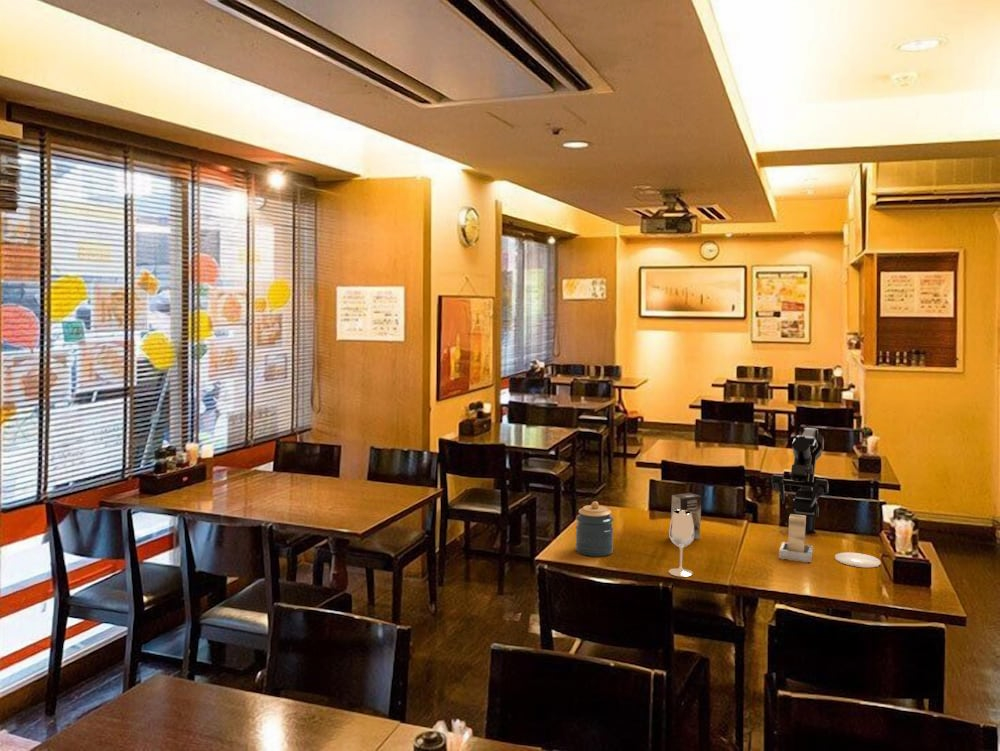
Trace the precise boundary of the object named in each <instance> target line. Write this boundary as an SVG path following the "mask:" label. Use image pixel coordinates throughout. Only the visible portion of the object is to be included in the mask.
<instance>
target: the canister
mask: <svg viewBox="0 0 1000 751" xmlns="http://www.w3.org/2000/svg"><path fill="white" fill-rule="evenodd" d="M578 513H579V514H578V515H576V517H575V520H576V522H577V524H576V525H575V530H576V531H575V532H576V533H575V551H576V552H577V553H578V554H580V555H582V554H583V555H582V556H586V555H589V556H588V557H606V556H609V555H610V554H612V553H613V550H614V544H613V543H614V529H615V528H614V526H613V522H614V520H615V519H614V517H613V516H612V511H611V510H610V509H608V507H606V506H603V505H600V504H599V502H598V501H592V502H591V504H590V505H589V504H588V505H585V506H583V507H582V508H580V509H578Z"/></svg>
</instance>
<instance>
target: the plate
mask: <svg viewBox="0 0 1000 751" xmlns="http://www.w3.org/2000/svg"><path fill="white" fill-rule="evenodd" d="M834 559H835V561H837V562H838V563H841V564H842V563H843V565H845V564H846V566H849V565H850V566H849V567H854V566H855V567H856V568H866V569H867V568H869V569H870V568H877V567H879V565H880V566H881V565H882V564H881V560H880V559H879V558H878V557H875V556H873V555H870V554H864V553H860V552H847V551H846V552H840V553H836V554H835V555H834Z"/></svg>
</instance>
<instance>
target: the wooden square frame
mask: <svg viewBox="0 0 1000 751" xmlns="http://www.w3.org/2000/svg"><path fill="white" fill-rule="evenodd" d="M812 554H814V546H813V545H809V544H808V545H807V544H805V551H804V552H796V551H789V550H788V542H785V541H782V542H781V545H780V548H779V550H778V559H779V558H781V559H780V560H784V559H788V560H787V561H792V560H795V561H794V562H799V561H802V562H801V563H807V562H811V563H812V559H813V555H812ZM811 558H812V559H811Z"/></svg>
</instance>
